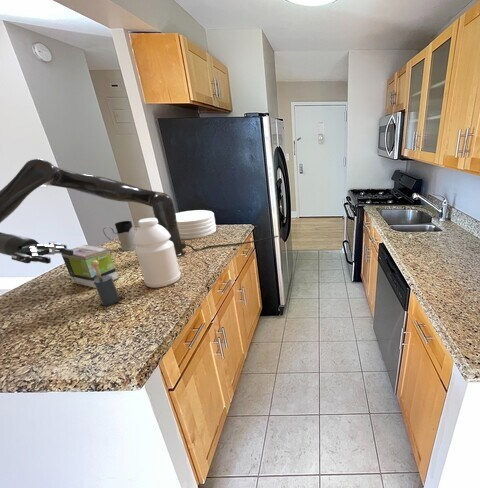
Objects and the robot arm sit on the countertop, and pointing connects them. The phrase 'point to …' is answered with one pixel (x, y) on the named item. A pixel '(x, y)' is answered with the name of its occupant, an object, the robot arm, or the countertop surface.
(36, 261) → the robot arm
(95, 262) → the spoon crock
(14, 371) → the countertop surface
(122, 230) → the glass holder
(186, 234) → the plate stack
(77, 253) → the tea box
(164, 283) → the bottle
